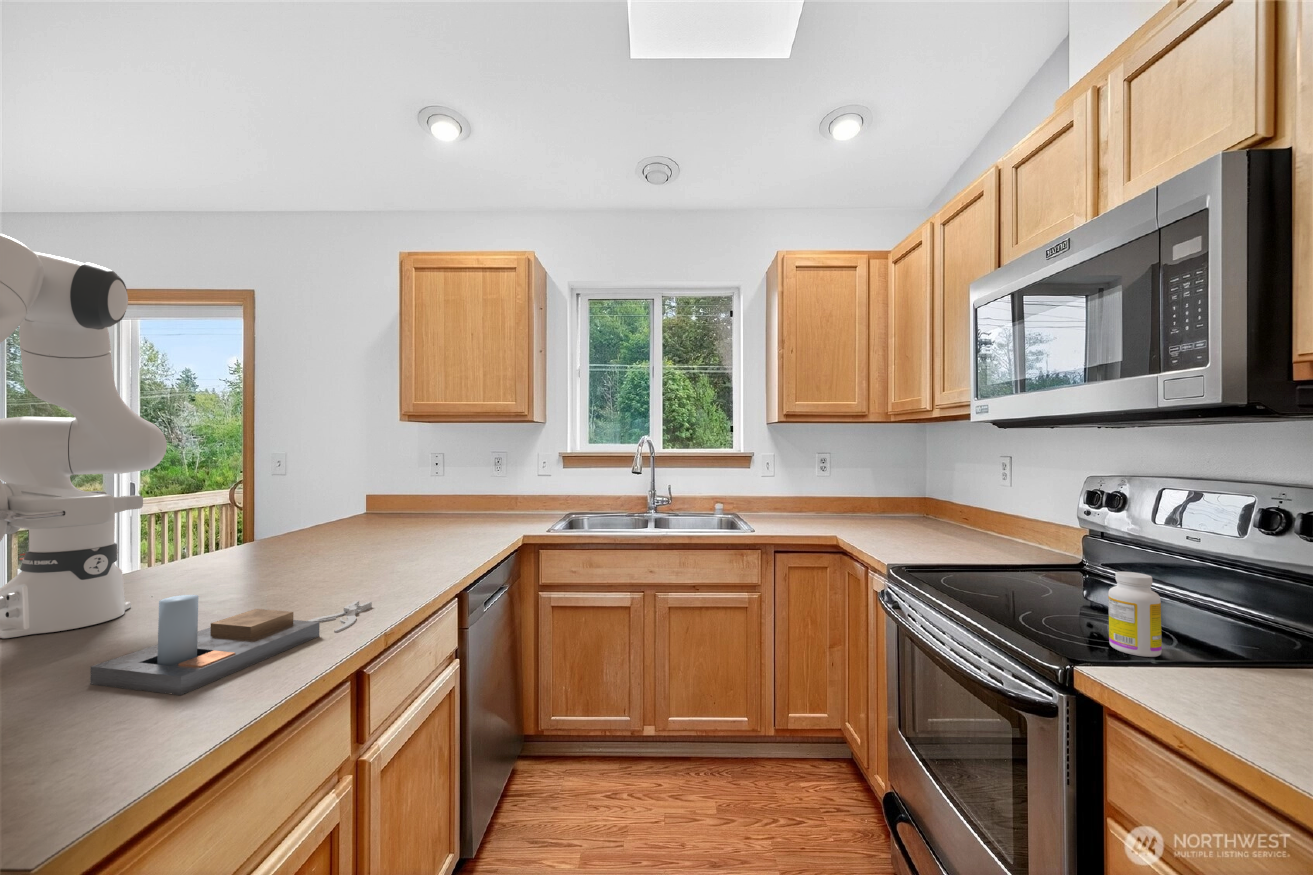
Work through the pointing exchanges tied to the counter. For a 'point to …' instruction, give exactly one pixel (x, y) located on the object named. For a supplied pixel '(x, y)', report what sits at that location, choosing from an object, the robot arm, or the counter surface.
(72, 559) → the robot arm
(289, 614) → the rack
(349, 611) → the pliers
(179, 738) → the counter surface
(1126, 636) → the supplement bottle
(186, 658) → the peg
